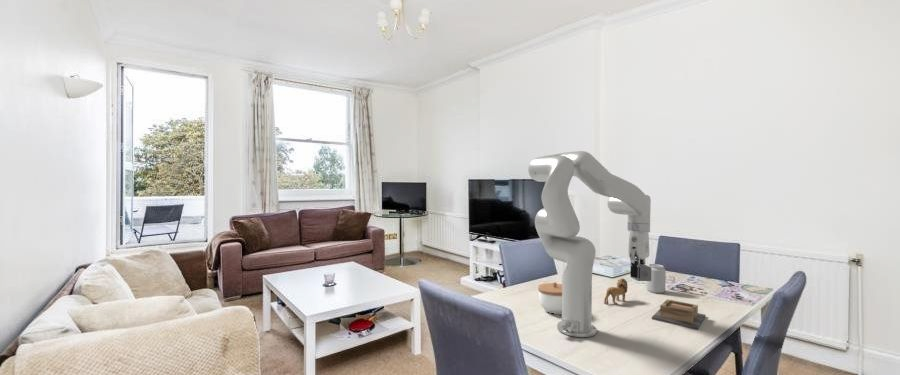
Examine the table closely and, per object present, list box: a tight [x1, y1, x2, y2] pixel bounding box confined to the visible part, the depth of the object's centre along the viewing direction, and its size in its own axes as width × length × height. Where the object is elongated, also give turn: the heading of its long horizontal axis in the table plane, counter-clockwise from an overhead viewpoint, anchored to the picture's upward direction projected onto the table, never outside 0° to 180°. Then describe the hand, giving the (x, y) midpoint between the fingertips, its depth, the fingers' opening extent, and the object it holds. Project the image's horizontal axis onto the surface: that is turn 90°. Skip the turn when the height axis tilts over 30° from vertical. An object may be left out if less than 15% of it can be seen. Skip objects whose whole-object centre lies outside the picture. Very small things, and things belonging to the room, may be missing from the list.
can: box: [645, 263, 666, 294], centre depth 169 cm, size 8×8×12 cm
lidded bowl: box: [537, 281, 562, 315], centre depth 144 cm, size 13×13×11 cm
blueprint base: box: [651, 299, 706, 330], centre depth 137 cm, size 16×14×5 cm
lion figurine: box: [603, 277, 629, 306], centre depth 154 cm, size 15×5×9 cm, turn 131°
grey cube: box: [630, 264, 651, 282], centre depth 139 cm, size 5×5×5 cm
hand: (637, 275), depth 139 cm, fingers closed on grey cube, 5 cm apart
